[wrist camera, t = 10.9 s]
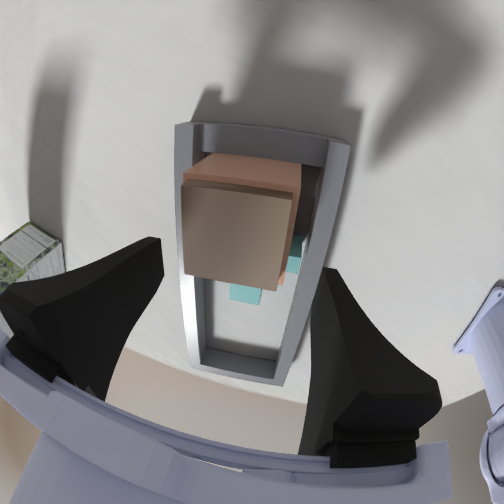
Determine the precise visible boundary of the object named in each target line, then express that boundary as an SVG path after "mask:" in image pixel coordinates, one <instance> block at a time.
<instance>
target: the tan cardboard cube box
mask: <svg viewBox="0 0 504 504" xmlns="http://www.w3.org/2000/svg"><path fill="white" fill-rule="evenodd" d="M300 190H301V164H300V163H294V162H287V161H281V160H274V159H267V158H259V157H251V156H243V155H234V154H224V153H212V154H211V155H209V156H208V157H206V158H204V159H203V160H201V161H200V162H198V163H197V164H195V165H193V166H192V167H190V168H189V169H187V170H186V171H184V172H183V184H182V185H181V220H182V244H183V262H184V274H187V275H192V276H196V277H201V278H206V279H212V280H217V281H222V282H227V283H232V284H238V285H243V286H249V287H254V288H260V289H265V290H271V291H276V290H277V285H278V284H279V285H283V282H284V277H285V272H286V267H287V262H288V257H289V251H290V246H291V241H292V235H293V230H294V225H295V219H296V213H297V208H298V202H299V196H300Z"/></svg>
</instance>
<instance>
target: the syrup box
mask: <svg viewBox="0 0 504 504" xmlns="http://www.w3.org/2000/svg"><path fill="white" fill-rule="evenodd" d="M62 273H65V267H64V259H63V251H62V242H61V241H59V240H57V239H56V238H54V237H52V236H51V235H49V234H47V233H46V232H44V231H43V230H41V229H40V228H38V227H36V226H35V225H33V224H32V223H30V222H28V223H26V224H24V225H23V226H21V227H20V228H19V229H17V230H16V231H15V232H13V233H12V234H10V235H9V236H8V237H6V238H5V239H4V240H2V241H1V242H0V294H1V293H2V292H3V291H4V290H5V289H6V288H7V287H8V286H9V285H10V284H11V283H13V282H22V281H30V280H36V279H42V278H46V277H51V276H55V275H58V274H62ZM0 329H1V330H2V331H4V332H5V333H6V334H7V335H8V336H9V337H10V338H12V337H13V335H14V334H13V332H12V330H11V329H10V327H9V326H8V324H7V322H6V320H5V319H4V317H3V315H2V313H1V311H0Z"/></svg>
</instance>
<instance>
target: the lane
mask: <svg viewBox="0 0 504 504" xmlns="http://www.w3.org/2000/svg"><path fill="white" fill-rule="evenodd" d="M350 148H351V146H350V145H349V144H348V143H347V142H346V141H345V140H342V139H337V138H332V137H327V136H322V135H317V134H311V133H305V132H299V131H293V130H286V129H279V128H271V127H263V126H254V125H243V124H231V123H216V122H193V121H190V122H185V123H181V124H177V125H175V145H174V179H175V216H176V236H177V252H178V266H179V278H180V289H181V299H182V308H183V317H184V325H185V333H186V341H187V348H188V355H189V362H190V367H191V368H194V369H198V370H202V371H206V372H210V373H214V374H219V375H223V376H228V377H232V378H237V379H242V380H247V381H252V382H258V383H263V384H269V385H276V386H282V387H283V385H284V382H285V380H286V377H287V374H288V372H289V369H290V366H291V363H292V361H293V358H294V355H295V352H296V349H297V346H298V344H299V341H300V338H301V335H302V332H303V329H304V326H305V323H306V320H307V317H308V314H309V310H310V307H311V304H312V301H313V298H314V294H315V291H316V288H317V284H318V281H319V278H320V274H321V271H322V267H323V263H324V260H325V256H326V253H327V249H328V245H329V241H330V237H331V234H332V230H333V226H334V222H335V217H336V213H337V209H338V205H339V201H340V196H341V192H342V187H343V183H344V178H345V173H346V168H347V163H348V158H349V153H350ZM205 152H212V153H224V154H234V155H243V156H251V157H259V158H267V159H274V160H281V161H287V162H294V163H300V164H306V165H311V166H317V167H321V170H320V176H319V181H318V186H317V192H316V197H315V202H314V207H313V212H312V217H311V222H310V227H309V231H308V236H307V241H306V245H305V250H304V254H303V259H302V263H301V267H300V272H299V276H298V280H297V284H296V289H295V293H294V297H293V301H292V305H291V309H290V312H289V316H288V320H287V324H286V328H285V332H284V335H283V339H282V343H281V346H280V350H279V353H278V357H277V360H276V361H270V360H264V359H258V358H253V357H248V356H243V355H238V354H233V353H228V352H223V351H219V350H215V349H210V348H206V328H205V302H204V278H201V277H196V276H192V275H187V274H184V262H183V244H182V220H181V185H182V184H183V172H184V171H186V170H187V169H189V168H190V167H192V166H193V165H195V164H197V163H198V162H200V161H201V160H203V159H204V158H205Z"/></svg>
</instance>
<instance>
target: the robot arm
mask: <svg viewBox="0 0 504 504" xmlns="http://www.w3.org/2000/svg"><path fill="white" fill-rule="evenodd" d="M163 277H164V267H163V258H162V248H161V239H160V238H155V237H146V238H144V239H141V240H139V241H137V242H135V243H133V244H131V245H129V246H127V247H125V248H123V249H121V250H118V251H116V252H114V253H112V254H110V255H108V256H106V257H104V258H102V259H99V260H97V261H95V262H93V263H90V264H88V265H86V266H83V267H80V268H77V269H75V270H72V271H68V272H65V273H62V274H58V275H55V276H51V277H46V278H42V279H36V280H30V281H22V282H13V283H11V284H10V285H9V286H8V287H7V288H6V289H5V290H4V291H3V292H2V293H1V294H0V311H1V313H2V315H3V317H4V319H5V320H6V322H7V324H8V326H9V327H10V329H11V330H12V332H13V334H14V335H13V337H12V338H10V337H9V336H8V335H7V334H6V333H5V332H4V331H2V330H1V329H0V395H1V396H2V397H3V398H4V399H5V400H6V401H7V402H8V403H9V404H10V405H11V406H13V407H14V408H15V409H16V410H17V411H18V412H19V413H20V414H22V415H23V416H24V417H25V418H26V419H27V420H29V421H30V422H31V423H32V424H34V425H35V426H36V427H37V428H39V429H40V430H41V431H42V434H41V436H40V438H39V440H38V442H37V444H36V446H35V448H34V449H33V452H32V454H31V456H30V458H29V460H28V462H27V464H26V466H25V468H24V470H23V473H22V475H21V477H20V479H19V481H18V484H17V486H16V488H15V491H14V493H13V496H12V498H11V501H10V503H9V504H435V503H438V502H442V501H445V500H447V499H450V498H451V497H452V480H451V466H450V456H449V448H448V441H446V440H445V441H440V442H433V443H427V444H423V445H420V446H417V447H416V443H415V440H416V439H418V438H419V428H420V427H421V426H423V425H424V424H425V423H427V422H428V421H429V420H431V419H432V418H433V417H434V416H435V415H436V414H437V413H438V412H439V410H440V409H441V407H442V399H441V395H440V390H439V386H438V383H437V380H436V379H434V378H433V377H431V376H430V375H428V374H427V373H426V372H424V371H423V370H421V369H420V368H418V367H417V366H416V365H415V364H413V363H412V362H411V361H410V360H408V359H407V358H406V357H405V356H404V355H403V354H401V353H400V352H399V351H398V350H397V349H396V348H395V347H394V346H393V345H392V344H391V343H390V342H389V341H388V340H387V339H386V338H385V337H384V336H383V335H382V334H381V333H380V331H379V330H378V329H377V328H376V327H375V326H374V324H373V323H372V322H371V321H370V319H369V318H368V317H367V315H366V314H365V313H364V311H363V310H362V309H361V307H360V306H359V304H358V303H357V301H356V300H355V298H354V297H353V295H352V294H351V292H350V290H349V289H348V287H347V285H346V284H345V282H344V280H343V279H342V277H341V275H340V274H339V272H338V271H337V269H332V268H327V267H323V268H322V271H321V275H320V278H319V282H318V285H317V288H316V292H315V295H314V298H313V301H312V309H311V320H310V333H311V379H310V388H309V396H308V403H307V411H306V416H305V422H304V428H303V433H302V438H301V443H300V447H299V452H298V455H294V454H283V453H276V452H268V451H262V450H255V449H250V448H244V447H238V446H234V445H229V444H225V443H220V442H216V441H212V440H208V439H204V438H201V437H197V436H193V435H190V434H186V433H183V432H180V431H177V430H174V429H171V428H168V427H165V426H162V425H159V424H156V423H153V422H151V421H148V420H146V419H143V418H140V417H138V416H135V415H133V414H131V413H128V412H126V411H124V410H121V409H119V408H117V407H115V406H112V405H110V404H108V403H106V402H105V398H106V395H107V391H108V388H109V384H110V380H111V378H112V375H113V372H114V369H115V366H116V364H117V361H118V359H119V356H120V354H121V351H122V349H123V347H124V345H125V343H126V340H127V338H128V336H129V334H130V332H131V330H132V329H133V327H134V325H135V324H136V322H137V321H138V319H139V318H140V316H141V315H142V313H143V312H144V310H145V309H146V307H147V305H148V304H149V302H150V301H151V299H152V298H153V296H154V295H155V293H156V292H157V290H158V288H159V286H160V283H161V281H162V279H163ZM452 351H453V353H454V354H473V356H474V358H475V361H476V363H477V366H478V369H479V372H480V375H481V378H482V381H483V384H484V387H485V390H486V393H487V396H488V400H489V403H490V407H491V411H492V414H493V417H492V418H491V419H490V420H488V422H487V424H488V428H489V429H488V430H487V431H486V433H485V435H484V437H483V440H482V444H481V448H480V467H481V471H482V474H483V476H484V478H485V480H486V481H487V484H488V486H489V490H490V496H491V501H492V503H494V504H504V288H502V287H495V288H494V289H493V290H492V291H491V293H490V295H489V296H488V298H487V300H486V301H485V303H484V305H483V306H482V308H481V309H480V311H479V313H478V314H477V316H476V317H475V319H474V320H473V322H472V323H471V324H470V326H469V327H468V329H467V330H466V332H465V333H464V334H463V336H462V337H461V338H460V340H459V341H458V342H457V344H456V345H455V346H454V348H453V350H452ZM191 457H192V458H191ZM193 458H195V459H193ZM196 459H199V460H202V461H206V462H210V463H214V464H219V465H223V466H228V467H232V468H238V469H243V471H242V473H241V472H237V471H233V470H229V469H226V468H222V467H218V466H215V465H212V464H209V463H205V462H202V461H199V460H196Z"/></svg>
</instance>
